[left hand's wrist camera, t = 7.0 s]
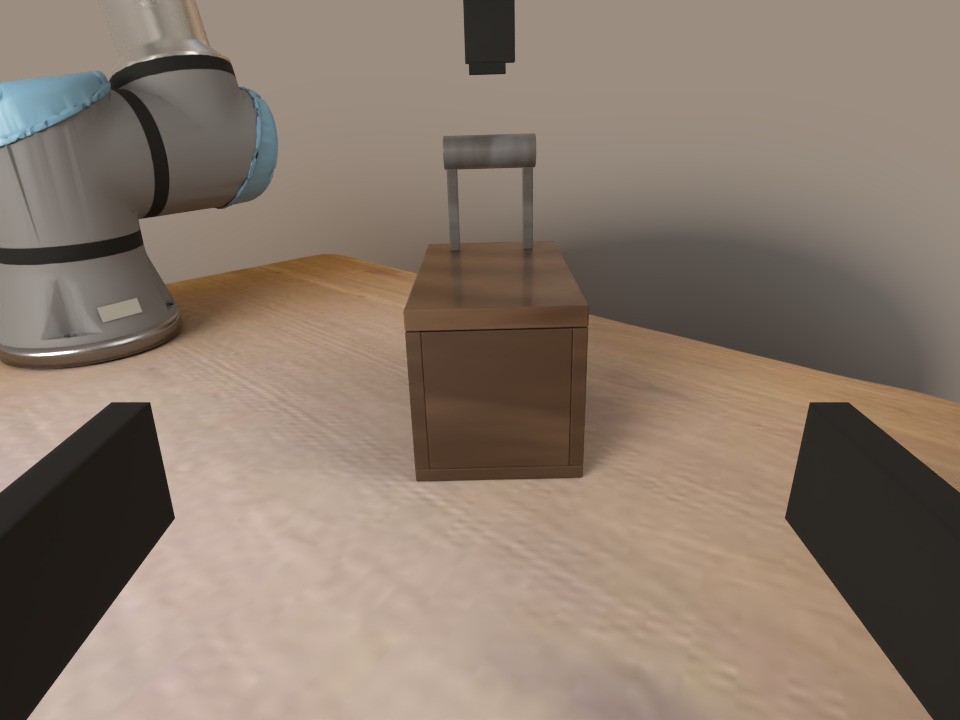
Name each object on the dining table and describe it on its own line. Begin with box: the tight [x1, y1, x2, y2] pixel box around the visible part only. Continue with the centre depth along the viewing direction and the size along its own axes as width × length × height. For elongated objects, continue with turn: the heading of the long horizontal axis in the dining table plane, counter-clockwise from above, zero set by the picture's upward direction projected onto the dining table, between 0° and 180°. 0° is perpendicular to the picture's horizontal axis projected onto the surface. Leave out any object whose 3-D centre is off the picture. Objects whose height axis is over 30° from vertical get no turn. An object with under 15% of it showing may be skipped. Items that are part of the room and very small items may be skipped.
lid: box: [404, 134, 589, 331], centre depth 39 cm, size 17×10×9 cm, turn 0°
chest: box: [405, 327, 588, 481], centre depth 42 cm, size 16×10×9 cm, turn 0°
